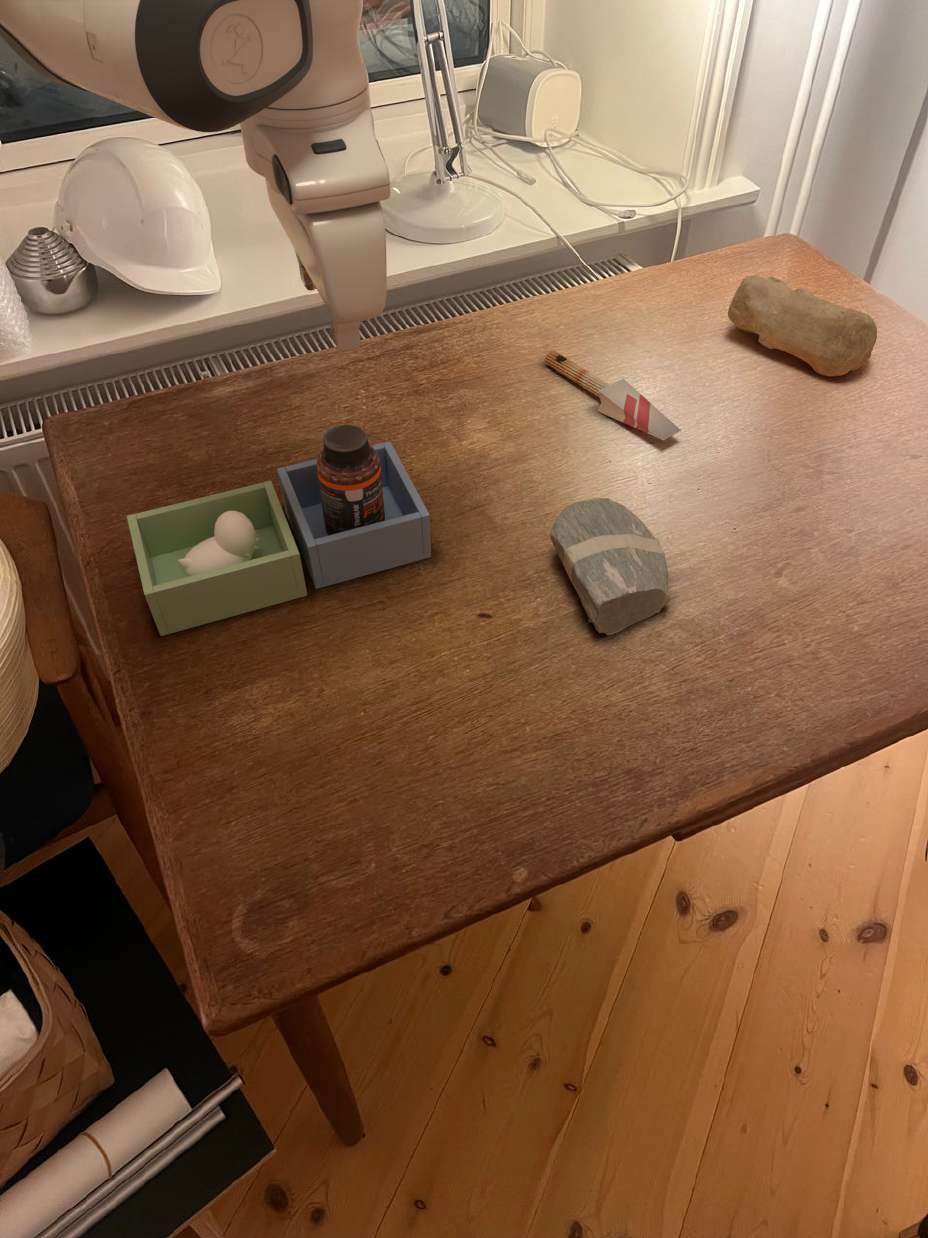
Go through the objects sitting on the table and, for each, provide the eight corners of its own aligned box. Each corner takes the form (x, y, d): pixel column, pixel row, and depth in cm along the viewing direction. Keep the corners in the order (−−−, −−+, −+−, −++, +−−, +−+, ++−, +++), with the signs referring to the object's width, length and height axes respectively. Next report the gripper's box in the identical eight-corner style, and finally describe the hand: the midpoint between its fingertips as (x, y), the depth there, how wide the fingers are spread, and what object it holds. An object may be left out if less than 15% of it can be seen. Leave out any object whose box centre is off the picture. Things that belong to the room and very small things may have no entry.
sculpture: (763, 283, 116) (748, 246, 108) (893, 330, 109) (889, 294, 100) (727, 345, 118) (710, 314, 109) (854, 396, 110) (846, 367, 101)
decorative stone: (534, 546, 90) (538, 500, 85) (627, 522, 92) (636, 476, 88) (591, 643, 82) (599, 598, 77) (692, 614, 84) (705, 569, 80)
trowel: (661, 430, 97) (539, 352, 108) (657, 452, 99) (538, 372, 110) (686, 417, 98) (564, 340, 109) (683, 438, 100) (563, 361, 111)
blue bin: (315, 589, 86) (307, 547, 82) (285, 511, 93) (276, 468, 89) (431, 557, 89) (429, 514, 85) (393, 483, 96) (390, 440, 92)
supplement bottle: (377, 554, 88) (367, 462, 80) (318, 546, 89) (302, 454, 81) (392, 513, 92) (385, 421, 84) (335, 505, 93) (322, 413, 84)
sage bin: (160, 636, 83) (144, 594, 78) (142, 558, 89) (126, 515, 85) (307, 595, 86) (299, 553, 82) (279, 522, 92) (271, 480, 88)
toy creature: (275, 568, 87) (265, 520, 82) (196, 603, 84) (180, 554, 80) (255, 540, 90) (243, 491, 85) (177, 572, 87) (161, 524, 82)
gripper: (229, 83, 68) (260, 260, 79) (300, 201, 56) (326, 393, 66) (311, 71, 70) (331, 246, 80) (398, 184, 57) (409, 374, 68)
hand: (330, 314), depth 73 cm, fingers open, 8 cm apart
